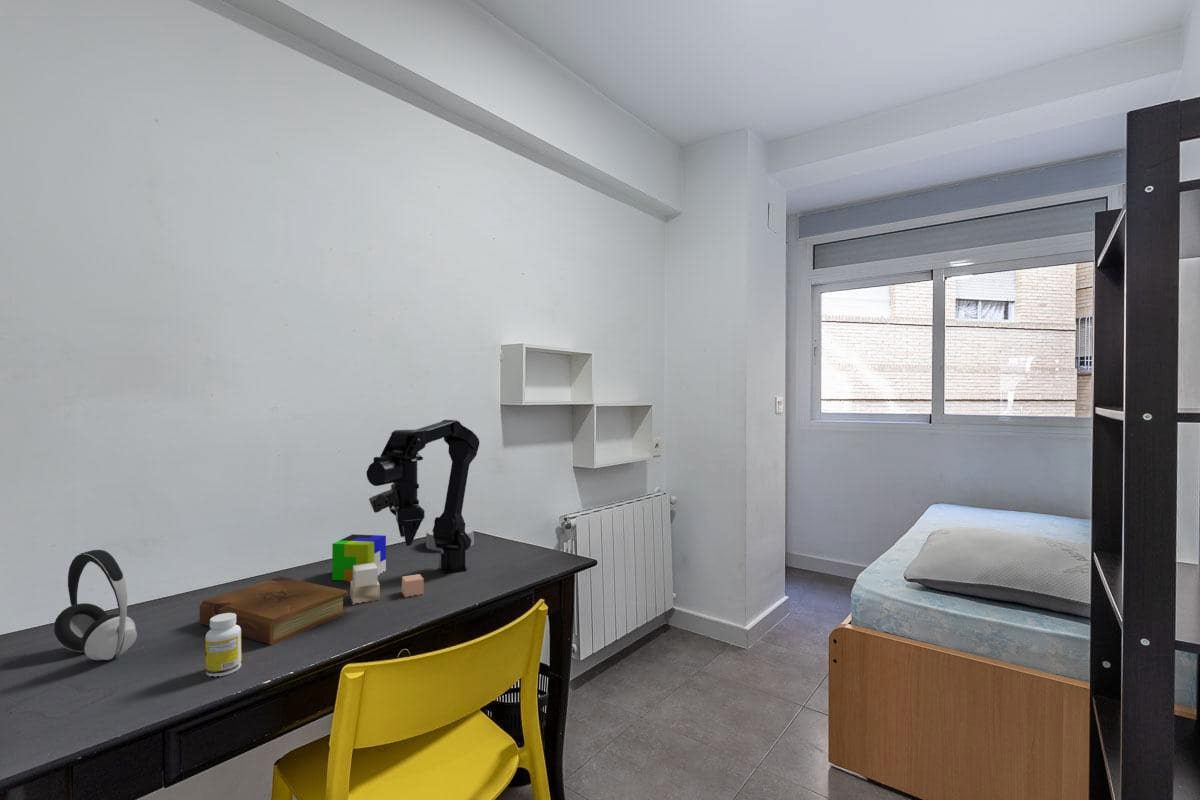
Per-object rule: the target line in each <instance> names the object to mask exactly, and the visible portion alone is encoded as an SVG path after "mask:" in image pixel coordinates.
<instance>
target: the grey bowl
mask: <svg viewBox="0 0 1200 800" xmlns="http://www.w3.org/2000/svg"><path fill="white" fill-rule="evenodd" d="M433 528H434V527H431V528H429V529H427V530H426V533H425V536H426V537H425V539H426V540H425V546H426V549H428V550H430V549H431V550H430V551H434V550H436V551H435V552H441V548H436V545H435V541H434V538H433V532H432V531H433ZM465 532H466V534H467V535H468V536H469V538H470V539H471V545H470V546H471V547H473V546H474V543H475V542H474V541H475V540H474V539H475V529H474V528H473V527H472V526H471V527H470V526H466V525H465ZM472 545H473V546H472Z"/></svg>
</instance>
